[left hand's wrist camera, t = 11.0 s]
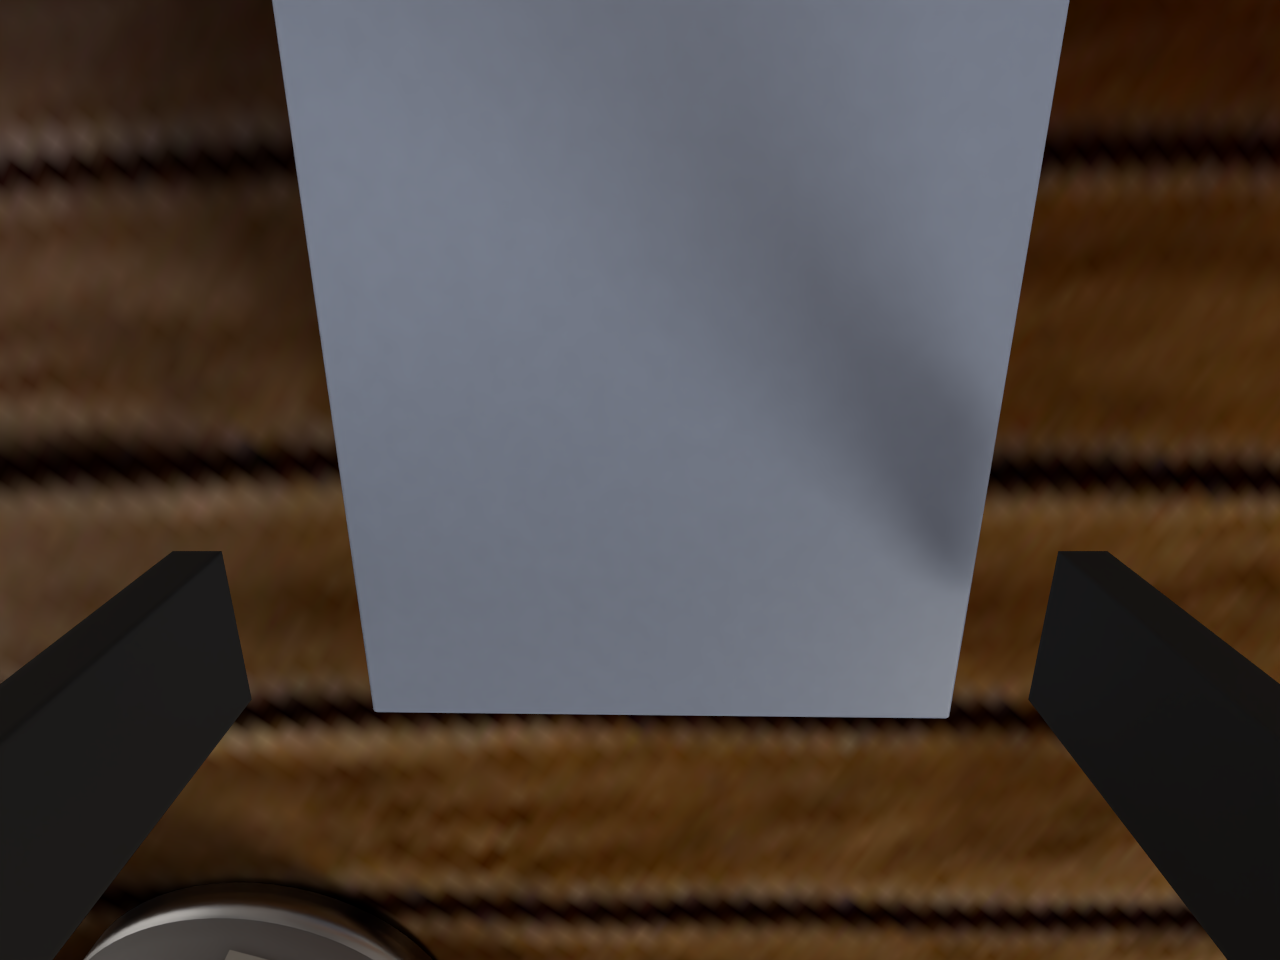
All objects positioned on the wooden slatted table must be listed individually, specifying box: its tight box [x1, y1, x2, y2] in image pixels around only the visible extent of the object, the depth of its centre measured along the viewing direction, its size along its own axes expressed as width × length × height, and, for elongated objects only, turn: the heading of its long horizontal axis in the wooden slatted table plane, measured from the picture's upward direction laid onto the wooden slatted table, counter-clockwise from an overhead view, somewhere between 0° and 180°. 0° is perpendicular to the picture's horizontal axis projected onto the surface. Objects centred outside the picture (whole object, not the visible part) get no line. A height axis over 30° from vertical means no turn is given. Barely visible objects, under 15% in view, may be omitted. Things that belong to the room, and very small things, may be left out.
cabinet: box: [272, 0, 1069, 718], centre depth 15 cm, size 21×11×9 cm, turn 0°
